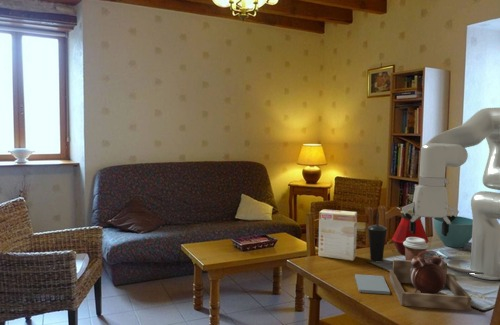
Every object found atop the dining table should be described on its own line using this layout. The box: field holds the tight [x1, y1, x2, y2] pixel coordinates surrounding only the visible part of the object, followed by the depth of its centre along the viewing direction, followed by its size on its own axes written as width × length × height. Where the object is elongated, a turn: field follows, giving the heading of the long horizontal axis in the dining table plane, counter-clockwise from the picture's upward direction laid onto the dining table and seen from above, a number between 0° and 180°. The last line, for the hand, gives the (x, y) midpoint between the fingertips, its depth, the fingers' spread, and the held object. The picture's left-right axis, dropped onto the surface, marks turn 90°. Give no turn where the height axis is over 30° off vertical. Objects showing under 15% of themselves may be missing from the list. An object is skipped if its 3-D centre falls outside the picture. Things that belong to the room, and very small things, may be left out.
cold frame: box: [389, 259, 472, 312], centre depth 131 cm, size 20×20×8 cm
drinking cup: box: [367, 212, 388, 262], centre depth 165 cm, size 8×8×20 cm
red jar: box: [391, 208, 429, 256], centre depth 174 cm, size 16×14×20 cm
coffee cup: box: [403, 237, 429, 261], centre depth 155 cm, size 9×9×12 cm
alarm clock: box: [410, 250, 446, 294], centre depth 131 cm, size 11×5×15 cm, turn 92°
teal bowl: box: [433, 214, 473, 249], centre depth 187 cm, size 18×18×12 cm
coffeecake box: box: [317, 208, 358, 261], centre depth 169 cm, size 15×7×20 cm, turn 66°
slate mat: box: [354, 273, 391, 295], centre depth 139 cm, size 10×14×1 cm
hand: (428, 234), depth 130 cm, fingers open, 9 cm apart
